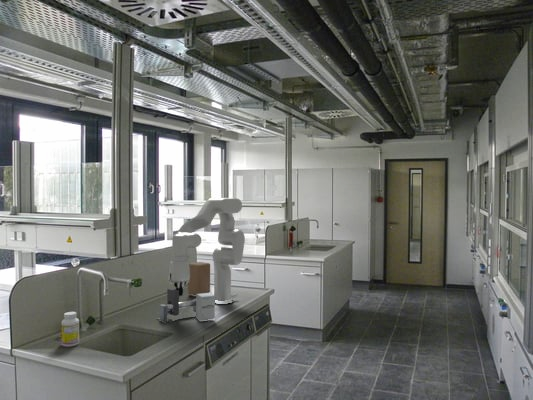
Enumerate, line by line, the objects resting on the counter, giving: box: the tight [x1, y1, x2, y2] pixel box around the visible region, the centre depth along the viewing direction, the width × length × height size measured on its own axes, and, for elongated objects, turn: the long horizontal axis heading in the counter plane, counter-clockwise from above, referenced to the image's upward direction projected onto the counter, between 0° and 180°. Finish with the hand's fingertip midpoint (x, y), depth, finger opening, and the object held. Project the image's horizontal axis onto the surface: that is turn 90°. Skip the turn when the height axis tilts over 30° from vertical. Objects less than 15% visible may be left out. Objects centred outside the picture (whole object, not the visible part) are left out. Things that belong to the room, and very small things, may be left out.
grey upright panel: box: [166, 287, 180, 316], centre depth 218 cm, size 2×7×12 cm, turn 41°
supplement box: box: [195, 292, 216, 320], centre depth 216 cm, size 7×7×13 cm
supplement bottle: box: [60, 311, 80, 348], centre depth 179 cm, size 7×7×13 cm
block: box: [187, 261, 211, 295], centre depth 267 cm, size 10×10×20 cm
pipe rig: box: [156, 298, 196, 323], centre depth 220 cm, size 22×8×8 cm, turn 131°
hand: (179, 295), depth 220 cm, fingers closed
